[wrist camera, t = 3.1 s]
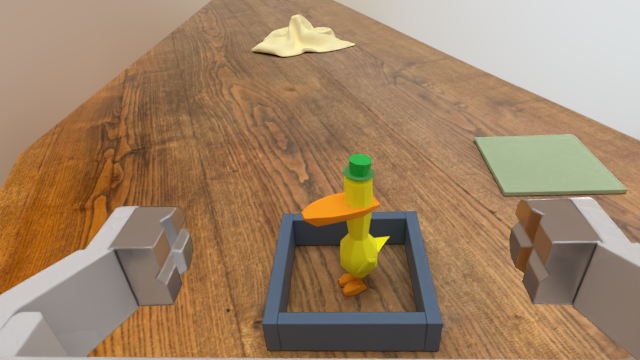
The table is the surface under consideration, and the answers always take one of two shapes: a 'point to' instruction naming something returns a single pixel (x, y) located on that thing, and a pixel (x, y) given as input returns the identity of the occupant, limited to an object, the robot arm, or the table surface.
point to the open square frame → (352, 326)
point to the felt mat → (545, 166)
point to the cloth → (300, 39)
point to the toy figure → (352, 222)
